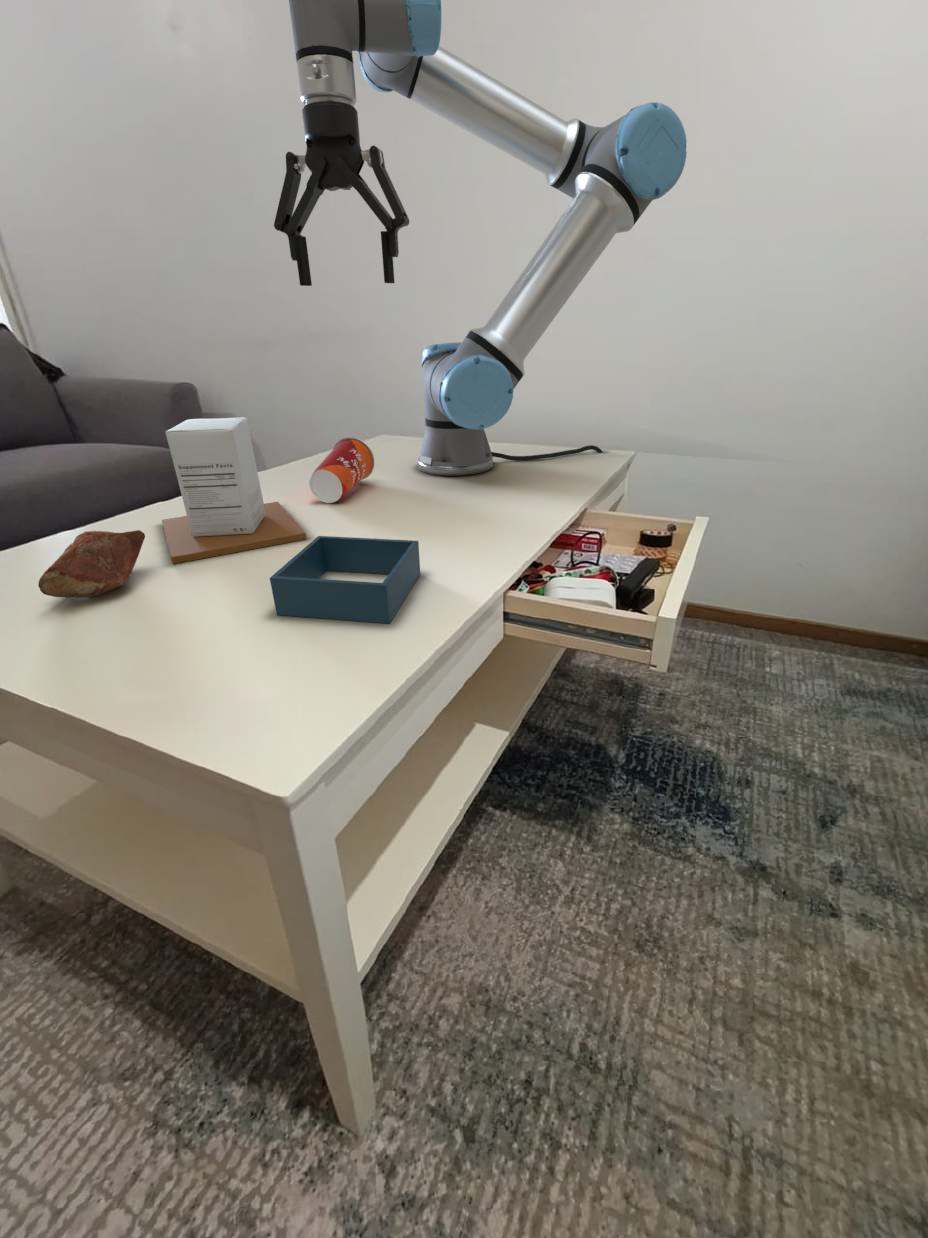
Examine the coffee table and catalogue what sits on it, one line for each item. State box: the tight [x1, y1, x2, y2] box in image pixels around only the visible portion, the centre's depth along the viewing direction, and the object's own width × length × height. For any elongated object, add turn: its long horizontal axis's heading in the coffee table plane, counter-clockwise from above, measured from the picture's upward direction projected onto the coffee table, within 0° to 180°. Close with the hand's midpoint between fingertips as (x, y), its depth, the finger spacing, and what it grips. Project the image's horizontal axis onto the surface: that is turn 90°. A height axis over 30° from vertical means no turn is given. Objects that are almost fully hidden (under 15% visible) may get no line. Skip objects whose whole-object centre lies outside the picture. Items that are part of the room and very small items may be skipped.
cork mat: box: [161, 501, 307, 565], centre depth 89 cm, size 18×18×1 cm
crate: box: [269, 535, 421, 624], centre depth 68 cm, size 13×13×4 cm
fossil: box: [37, 529, 146, 598], centre depth 70 cm, size 13×8×10 cm
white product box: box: [164, 416, 266, 537], centre depth 85 cm, size 9×9×15 cm
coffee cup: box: [308, 436, 375, 504], centre depth 105 cm, size 8×8×15 cm
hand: (347, 284), depth 91 cm, fingers open, 13 cm apart
